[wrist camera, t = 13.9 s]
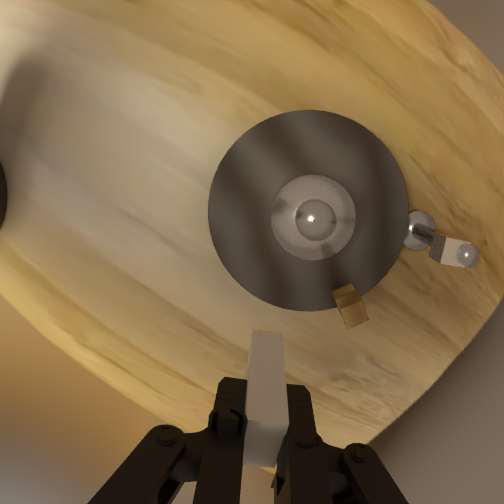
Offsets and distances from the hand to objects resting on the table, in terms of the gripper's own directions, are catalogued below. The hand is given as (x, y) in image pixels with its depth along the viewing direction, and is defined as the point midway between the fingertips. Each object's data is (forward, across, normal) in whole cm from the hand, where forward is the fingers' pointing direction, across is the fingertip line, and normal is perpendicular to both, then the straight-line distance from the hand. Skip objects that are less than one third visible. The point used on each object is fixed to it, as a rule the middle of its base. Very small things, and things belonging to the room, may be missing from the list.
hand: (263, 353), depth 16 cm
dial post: (+22, +18, +5) cm, 29 cm away
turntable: (+21, +4, +5) cm, 22 cm away
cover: (+19, +4, +5) cm, 20 cm away
